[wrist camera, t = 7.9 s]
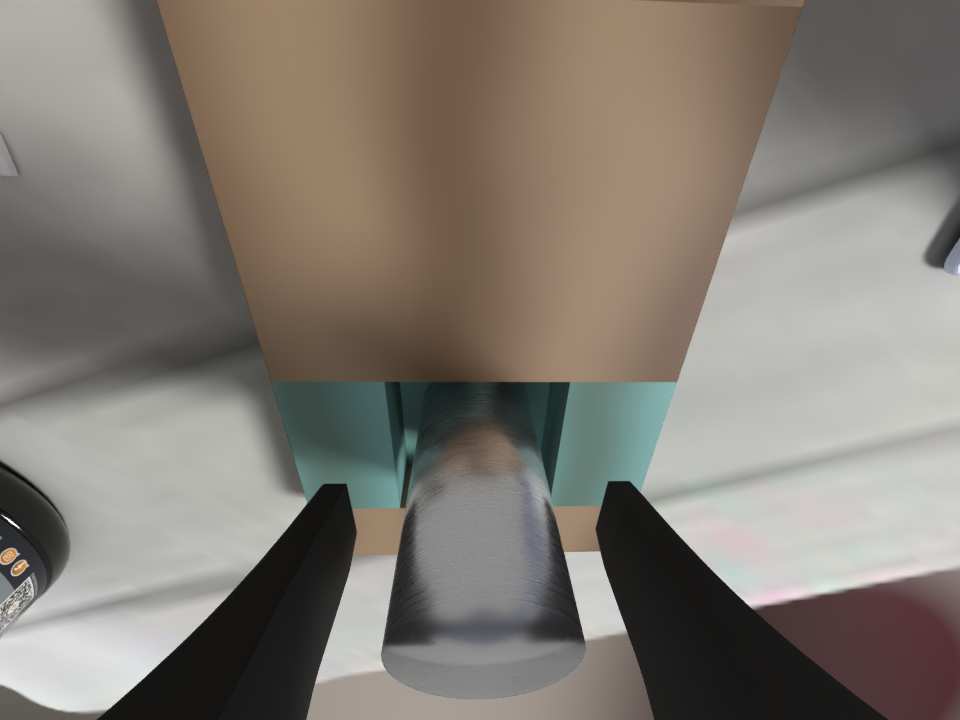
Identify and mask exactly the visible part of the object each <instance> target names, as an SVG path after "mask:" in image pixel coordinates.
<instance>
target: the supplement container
mask: <svg viewBox="0 0 960 720" xmlns="http://www.w3.org/2000/svg"><path fill="white" fill-rule="evenodd" d="M69 556H70V539H69V535H68V532H67V529H66V527H65V525H64V523H63V521H62V519H61V517H60V516H59V514H58V513H57V511H56V510H55V509H54V508H53V506H52V505H51V504H50V503H49V502H48V501H47V500H46V499H45V498H44V497H43V496H42V495H41V494H40V493H39V492H38V491H37V490H35V489H34V488H33V487H32V486H30V485H29V484H28V483H26V482H25V481H24V480H22V479H21V478H19V477H18V476H16V475H15V474H13V473H11V472H10V471H8V470H6V469H5V468H3V467H1V466H0V638H1V637H2V636H3V635H4V633H5V632H6V631H7V630H8V629H9V628H10V627H11V626H12V625H13V624H14V623H15V622H16V621H17V620H18V619H19V618H20V617H21V615H22V614H23V613H24V612H25V611H26V610H27V609H28V608H29V607H30V606H31V605H32V604H33V603H34V602H35V601H36V600H37V599H38V598H40V597H41V596H42V595H44V594H45V593H46V592H47V591H48V590H49V589H50V588H51V586H52V585H53V584H54V583H55V582H56V581H57V580H58V578H59V577H60V575H61V574H62V572H63V571H64V569H65V567H66V565H67V562H68V559H69Z"/></svg>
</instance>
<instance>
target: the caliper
mask: <svg viewBox="0 0 960 720" xmlns="http://www.w3.org/2000/svg"><path fill="white" fill-rule="evenodd" d="M0 176H19V174H18V172H17V170H16V167H15V165H14V163H13V160H12V158H11V156H10V154H9V151H8V149H7V147H6V144H5V142H4V140H3V138H2V135H1V134H0Z"/></svg>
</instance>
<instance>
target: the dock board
mask: <svg viewBox="0 0 960 720" xmlns="http://www.w3.org/2000/svg"><path fill="white" fill-rule="evenodd" d="M804 1H805V0H157V4H158V7H159V10H160V14H161V17H162V20H163V24H164V27H165V30H166V34H167V37H168V40H169V44H170V47H171V50H172V54H173V57H174V60H175V64H176V67H177V70H178V74H179V77H180V80H181V84H182V87H183V90H184V94H185V97H186V100H187V104H188V107H189V110H190V114H191V117H192V120H193V124H194V127H195V130H196V134H197V137H198V140H199V143H200V147H201V150H202V153H203V157H204V160H205V163H206V167H207V170H208V173H209V177H210V180H211V183H212V187H213V190H214V193H215V197H216V200H217V203H218V207H219V210H220V213H221V217H222V220H223V223H224V227H225V230H226V233H227V237H228V240H229V243H230V247H231V250H232V253H233V257H234V260H235V263H236V267H237V270H238V273H239V277H240V280H241V283H242V287H243V290H244V293H245V297H246V300H247V303H248V307H249V310H250V313H251V317H252V320H253V323H254V327H255V330H256V333H257V337H258V340H259V343H260V347H261V350H262V353H263V357H264V360H265V363H266V367H267V370H268V373H269V377H270V380H271V383H272V387H273V390H274V393H275V397H276V400H277V403H278V407H279V410H280V413H281V417H282V420H283V423H284V427H285V430H286V433H287V437H288V440H289V443H290V447H291V450H292V453H293V456H294V460H295V463H296V466H297V470H298V473H299V476H300V480H301V483H302V486H303V490H304V493H305V496H306V500H307V503H308V502H309V501H310V500H311V498H312V497H313V496H314V494H315V493H316V492H317V491H318V489H319V488H320V487H321V486H322V485H323V484H345V483H347V487H348V492H349V497H350V501H351V506H352V511H353V515H354V520H355V524H356V529H357V536H356V541H355V546H354V551H353V555H398V550H399V544H400V538H401V532H402V526H403V520H404V514H405V508H406V502H407V496H408V490H409V484H410V478H411V472H412V466H413V460H414V453H415V447H416V441H417V435H418V429H419V423H420V417H421V411H422V405H423V400H424V395H425V393H426V390H427V389H428V387H429V385H430V384H431V383H432V382H521V384H522V385H523V387H524V389H525V391H526V393H527V397H528V401H529V405H530V409H531V414H532V418H533V422H534V426H535V431H536V435H537V439H538V444H539V448H540V452H541V456H542V461H543V465H544V469H545V473H546V478H547V482H548V486H549V490H550V495H551V499H552V503H553V508H554V512H555V516H556V520H557V525H558V529H559V533H560V537H561V542H562V546H563V550H564V552H586V551H600V547H599V543H598V538H597V534H596V529H595V528H596V525H597V521H598V517H599V513H600V510H601V506H602V502H603V499H604V495H605V491H606V487H607V484H608V481H630V482H631V483H632V484H633V485H634V486H635V487H636V488H637V489H638V491H639V492H640V491H641V488H642V485H643V482H644V479H645V476H646V473H647V470H648V467H649V464H650V461H651V458H652V455H653V452H654V449H655V446H656V443H657V440H658V437H659V434H660V431H661V428H662V425H663V422H664V419H665V416H666V413H667V410H668V407H669V404H670V401H671V398H672V395H673V392H674V389H675V386H676V383H677V380H678V377H679V374H680V371H681V368H682V365H683V362H684V359H685V356H686V353H687V350H688V347H689V344H690V342H691V339H692V336H693V333H694V330H695V327H696V324H697V321H698V318H699V315H700V312H701V309H702V306H703V303H704V300H705V297H706V294H707V291H708V288H709V285H710V282H711V279H712V276H713V273H714V270H715V267H716V264H717V261H718V258H719V255H720V252H721V249H722V246H723V243H724V240H725V237H726V234H727V231H728V228H729V225H730V222H731V219H732V216H733V213H734V210H735V207H736V204H737V201H738V198H739V195H740V192H741V189H742V186H743V183H744V180H745V177H746V174H747V171H748V168H749V165H750V162H751V159H752V156H753V153H754V150H755V147H756V144H757V141H758V138H759V135H760V132H761V129H762V126H763V123H764V120H765V117H766V114H767V111H768V109H769V106H770V103H771V100H772V97H773V94H774V91H775V88H776V85H777V82H778V79H779V76H780V73H781V70H782V67H783V64H784V61H785V58H786V55H787V52H788V49H789V46H790V43H791V40H792V37H793V34H794V31H795V28H796V25H797V22H798V19H799V16H800V13H801V10H802V7H803V4H804Z"/></svg>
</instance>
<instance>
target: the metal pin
mask: <svg viewBox="0 0 960 720" xmlns="http://www.w3.org/2000/svg"><path fill="white" fill-rule="evenodd" d="M585 650H586V647H585V640H584V636H583V631H582V627H581V623H580V619H579V614H578V610H577V606H576V601H575V597H574V593H573V589H572V584H571V580H570V576H569V572H568V567H567V563H566V559H565V555H564V550H563V546H562V542H561V537H560V533H559V529H558V525H557V520H556V516H555V512H554V508H553V503H552V499H551V495H550V490H549V486H548V482H547V478H546V473H545V469H544V465H543V461H542V456H541V452H540V448H539V444H538V439H537V435H536V431H535V426H534V422H533V418H532V414H531V409H530V405H529V401H528V397H527V393H526V391H525V389H524V387H523V385H522V384H521V382H432V383H431V384H430V385H429V387H428V389H427V390H426V393H425V395H424V400H423V405H422V411H421V417H420V423H419V429H418V435H417V441H416V447H415V453H414V460H413V466H412V472H411V478H410V484H409V490H408V496H407V502H406V508H405V514H404V520H403V526H402V532H401V538H400V544H399V550H398V556H397V562H396V568H395V574H394V580H393V586H392V592H391V598H390V604H389V610H388V616H387V622H386V628H385V634H384V640H383V646H382V652H381V658H382V662H383V665H384V667H385V669H386V670H387V671H388V673H389V674H390V675H391V676H392V677H394V678H395V679H396V680H398V681H399V682H401V683H403V684H404V685H406V686H408V687H411V688H413V689H416V690H418V691H421V692H424V693H428V694H432V695H436V696H442V697H448V698H457V699H492V698H503V697H509V696H516V695H520V694H525V693H529V692H532V691H535V690H538V689H541V688H544V687H547V686H549V685H551V684H553V683H556V682H557V681H559V680H561V679H563V678H564V677H566V676H567V675H569V674H570V673H571V672H572V671H573V670H574V669H576V668H577V666H578V665H579V664H580V663H581V661H582V659H583V657H584V654H585Z"/></svg>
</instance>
